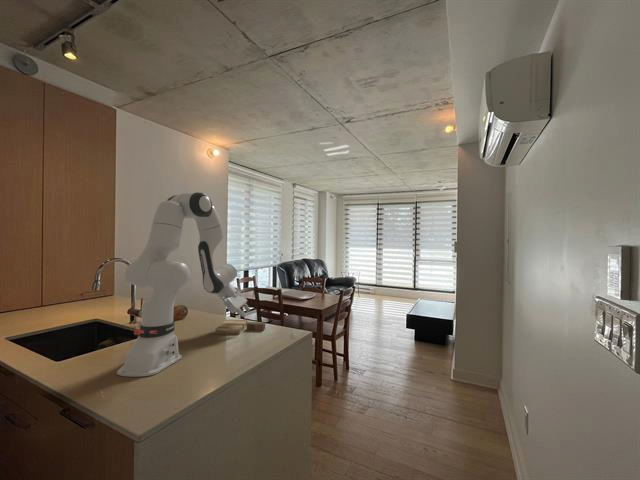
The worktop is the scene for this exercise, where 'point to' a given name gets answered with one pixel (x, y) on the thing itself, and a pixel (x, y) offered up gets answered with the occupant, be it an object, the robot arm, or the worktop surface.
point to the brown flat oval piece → (180, 312)
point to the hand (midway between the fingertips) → (246, 313)
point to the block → (256, 326)
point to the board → (231, 327)
